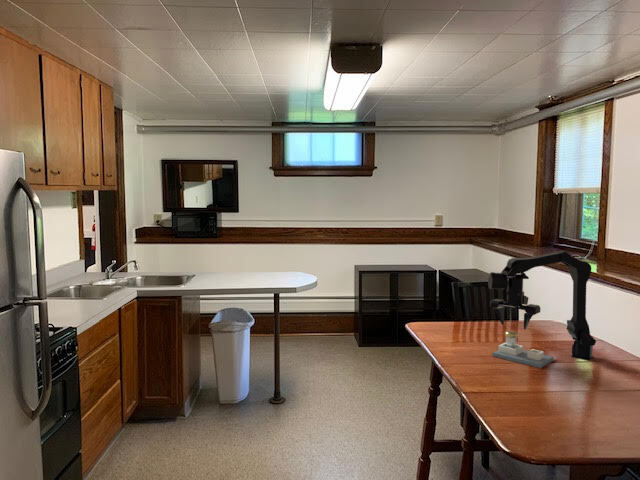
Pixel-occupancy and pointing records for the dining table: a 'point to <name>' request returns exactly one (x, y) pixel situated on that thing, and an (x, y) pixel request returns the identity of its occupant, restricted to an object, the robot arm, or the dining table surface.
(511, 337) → the gold capped canister
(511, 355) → the board
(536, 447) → the dining table surface
